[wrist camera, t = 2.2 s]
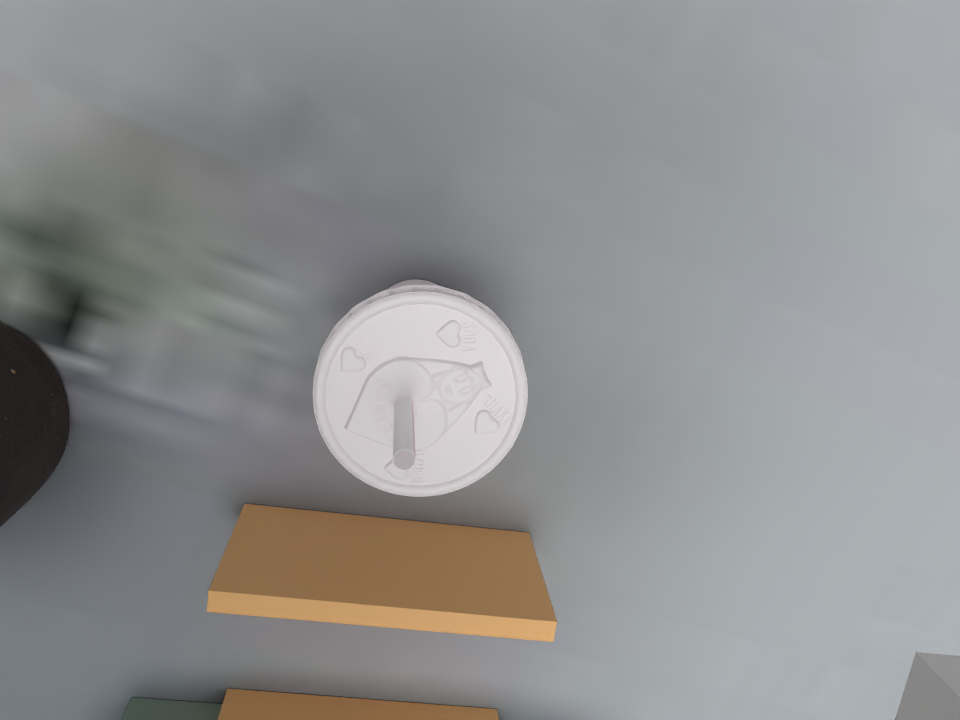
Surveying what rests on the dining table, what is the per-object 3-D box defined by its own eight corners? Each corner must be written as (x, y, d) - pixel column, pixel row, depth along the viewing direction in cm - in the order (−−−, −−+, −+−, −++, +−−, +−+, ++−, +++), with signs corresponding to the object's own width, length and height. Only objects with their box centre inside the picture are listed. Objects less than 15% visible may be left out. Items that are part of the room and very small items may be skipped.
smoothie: (308, 280, 34) (247, 382, 20) (462, 219, 34) (503, 282, 20) (372, 424, 36) (354, 606, 22) (518, 367, 36) (590, 515, 22)
